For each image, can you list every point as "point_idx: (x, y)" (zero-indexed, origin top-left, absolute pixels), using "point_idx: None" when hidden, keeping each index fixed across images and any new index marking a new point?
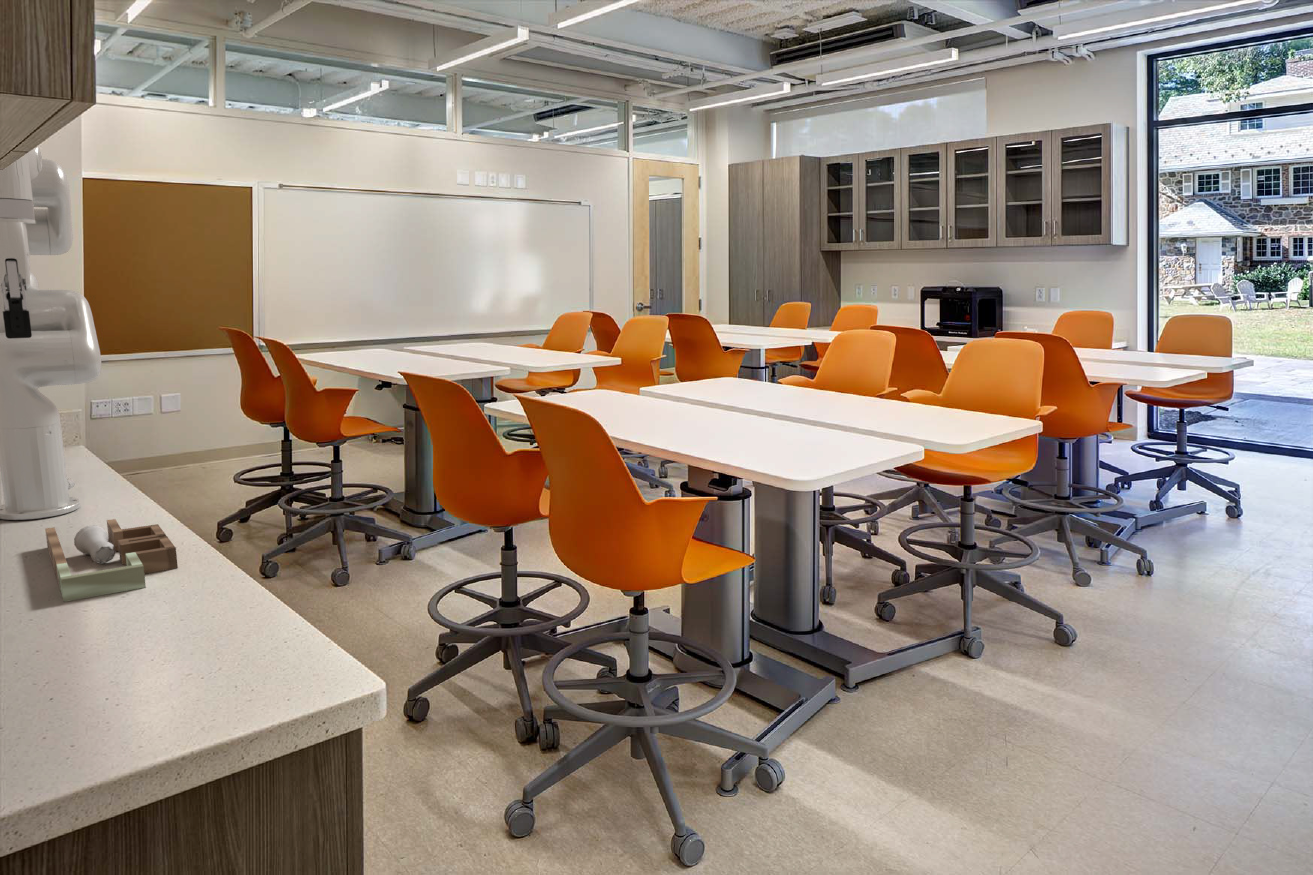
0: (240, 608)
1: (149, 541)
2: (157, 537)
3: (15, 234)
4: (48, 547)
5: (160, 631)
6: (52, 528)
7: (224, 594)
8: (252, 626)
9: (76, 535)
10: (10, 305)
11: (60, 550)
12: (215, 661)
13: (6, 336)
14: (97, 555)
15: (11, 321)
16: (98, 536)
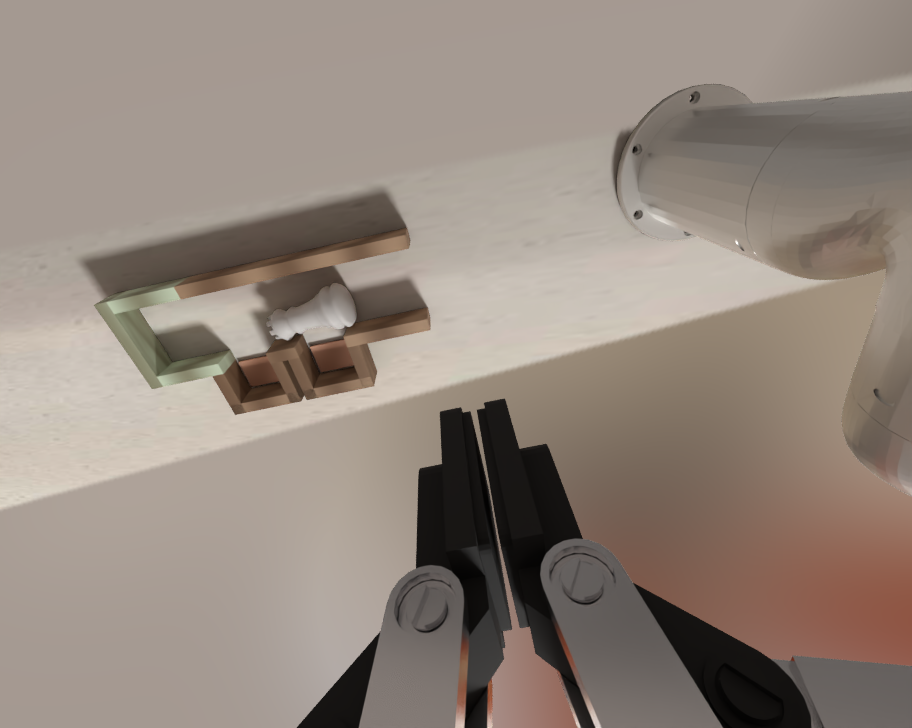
0: (83, 458)
1: (281, 383)
2: (296, 391)
3: None
4: (372, 237)
5: (6, 399)
6: (401, 246)
7: (133, 444)
8: (26, 468)
9: (329, 292)
10: (358, 664)
11: (252, 280)
12: None
13: (441, 414)
14: (269, 319)
15: (418, 520)
16: (313, 323)
